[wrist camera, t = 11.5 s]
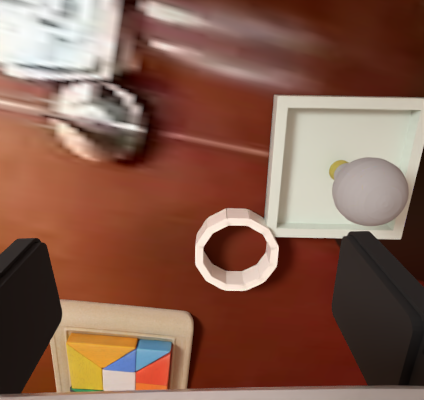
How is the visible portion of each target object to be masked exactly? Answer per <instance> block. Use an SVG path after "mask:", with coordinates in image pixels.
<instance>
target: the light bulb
mask: <svg viewBox="0 0 424 400" xmlns="http://www.w3.org/2000/svg"><path fill="white" fill-rule="evenodd" d="M329 175H330V177H331V178H332V179H333V180H334V182H333V187H332V196H333V200H334V203H335V206H336V208H337V209H338V211H339V212H340V213H341V214H342V215H343V216H344V217H345V218H346V219H347V220H349V221H351V222H353V223H355V224H359V225H363V226H379V225H383V224H386V223H388V222H390V221H392V220H393V219H395V218H396V217H397V216H398V215H399V214H400V213H401V212H402V211H403V209H404V208H405V206H406V204H407V201H408V196H409V189H408V183H407V180H406V178H405V176H404V174H403V173H402V171H401V170H400V169H399V168H398V167H397V166H395V165H394V164H392V163H390V162H389V161H387V160H384V159H381V158H372V157H365V158H360V159H357V160H354V161H352V162H350V163H348V162H347V161H345V160H338V161H336V162H334V163H333V164H332V165H331V167H330V169H329Z"/></svg>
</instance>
